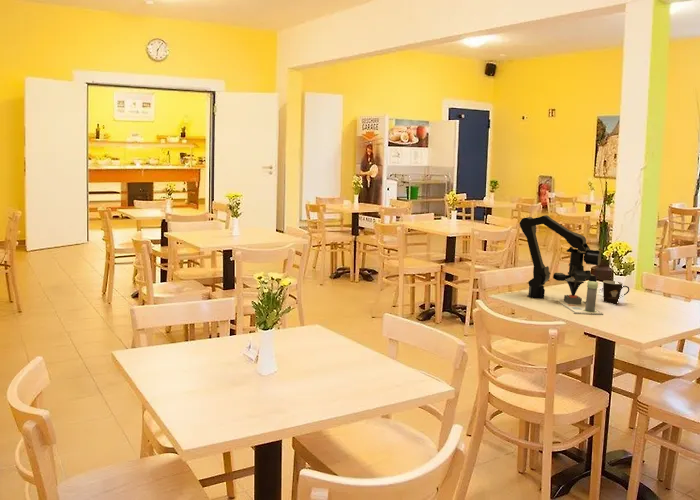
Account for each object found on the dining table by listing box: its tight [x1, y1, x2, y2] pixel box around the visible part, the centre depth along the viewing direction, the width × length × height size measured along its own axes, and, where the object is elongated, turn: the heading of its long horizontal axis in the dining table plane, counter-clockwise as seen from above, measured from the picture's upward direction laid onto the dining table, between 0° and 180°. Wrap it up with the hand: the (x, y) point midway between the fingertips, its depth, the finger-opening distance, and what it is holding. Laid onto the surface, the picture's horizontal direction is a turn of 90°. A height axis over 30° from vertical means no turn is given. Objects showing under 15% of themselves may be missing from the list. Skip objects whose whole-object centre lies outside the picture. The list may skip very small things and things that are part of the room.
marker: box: [585, 280, 599, 312], centre depth 315 cm, size 4×4×13 cm
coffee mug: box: [602, 280, 630, 305], centre depth 337 cm, size 12×9×10 cm
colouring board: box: [556, 300, 604, 316], centre depth 323 cm, size 13×23×1 cm, turn 4°
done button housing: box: [563, 294, 583, 304], centre depth 331 cm, size 6×6×3 cm
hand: (573, 295), depth 331 cm, fingers closed, pressing on done button
